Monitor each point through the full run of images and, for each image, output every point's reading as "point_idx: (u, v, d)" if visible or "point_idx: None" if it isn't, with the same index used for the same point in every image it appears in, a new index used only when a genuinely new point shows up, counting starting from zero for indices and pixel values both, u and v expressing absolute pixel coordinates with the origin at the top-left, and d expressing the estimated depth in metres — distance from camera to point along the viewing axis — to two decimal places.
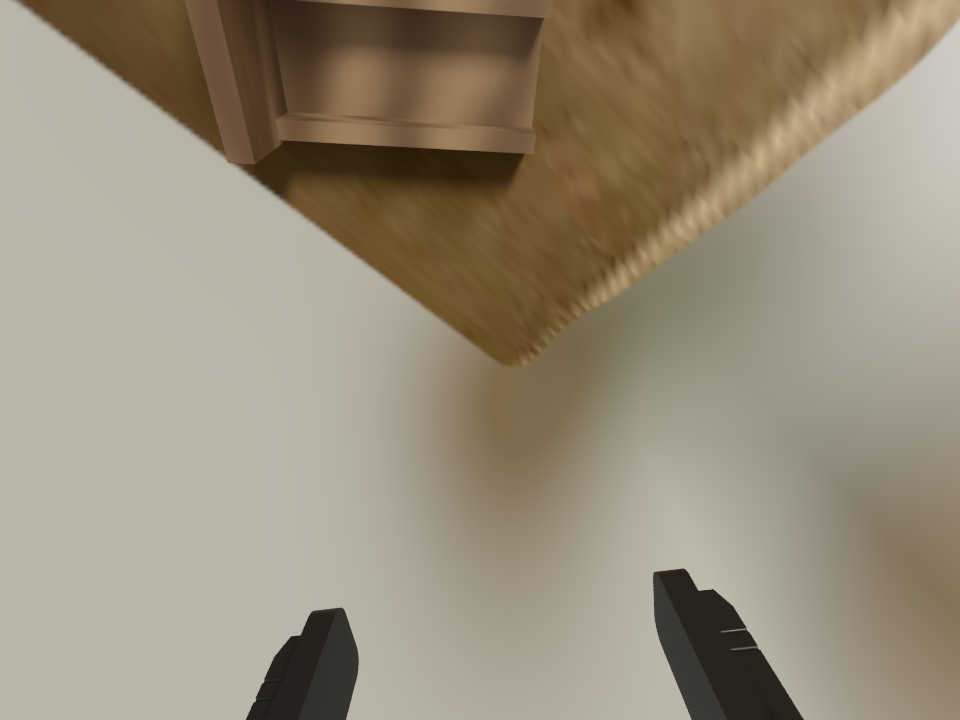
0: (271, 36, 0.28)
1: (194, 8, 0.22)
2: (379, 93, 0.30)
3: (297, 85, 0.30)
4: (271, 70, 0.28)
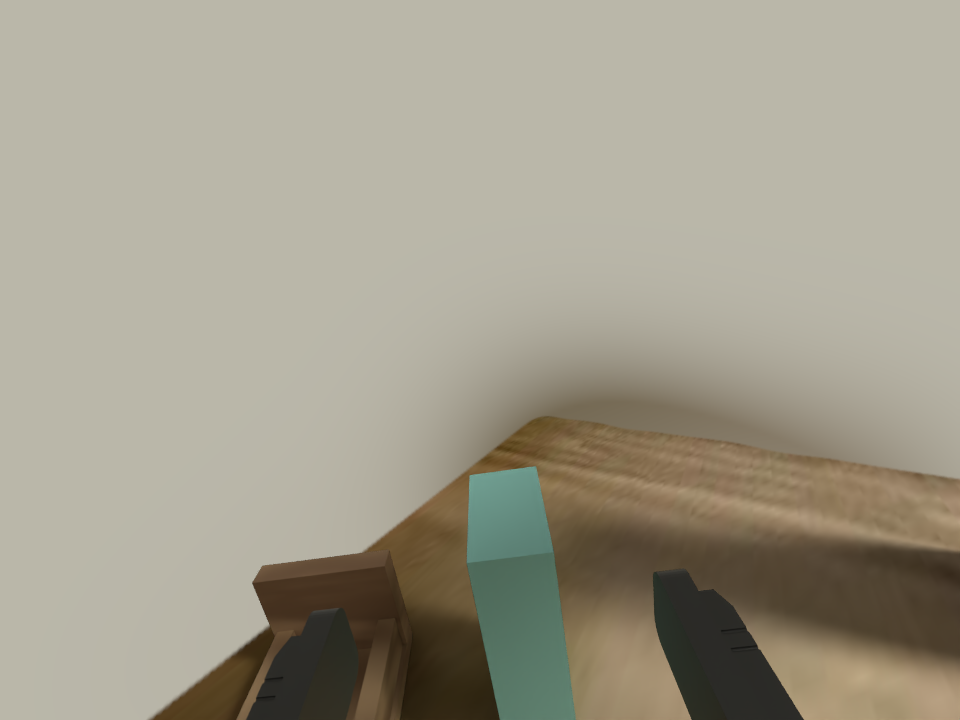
0: (359, 644, 0.32)
1: (358, 557, 0.31)
2: None
3: None
4: None
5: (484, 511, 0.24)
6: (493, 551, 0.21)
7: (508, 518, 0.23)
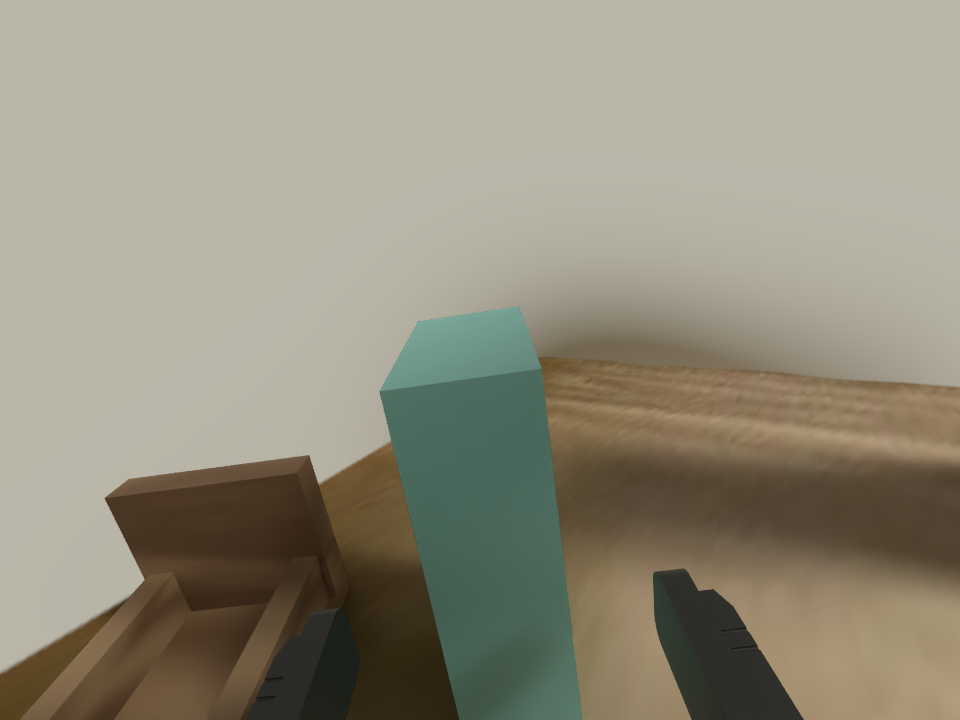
0: (268, 595, 0.22)
1: (264, 465, 0.21)
2: None
3: (210, 624, 0.22)
4: (228, 581, 0.22)
5: (428, 344, 0.14)
6: (432, 376, 0.12)
7: (466, 346, 0.14)
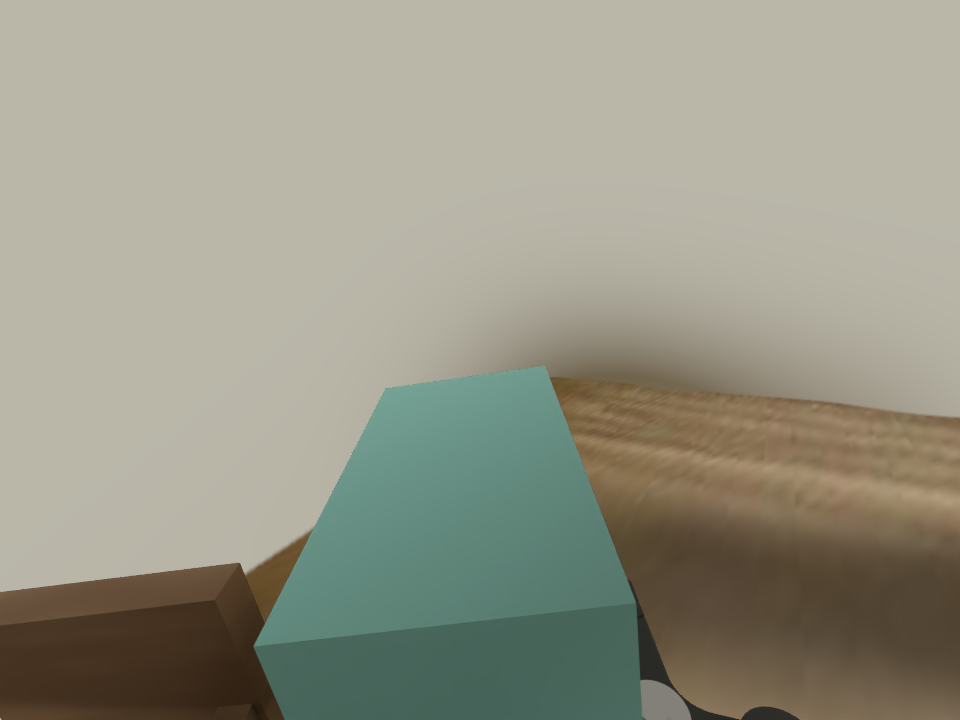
0: None
1: (174, 578, 0.15)
2: None
3: None
4: None
5: (392, 458, 0.08)
6: (381, 594, 0.05)
7: (460, 476, 0.07)
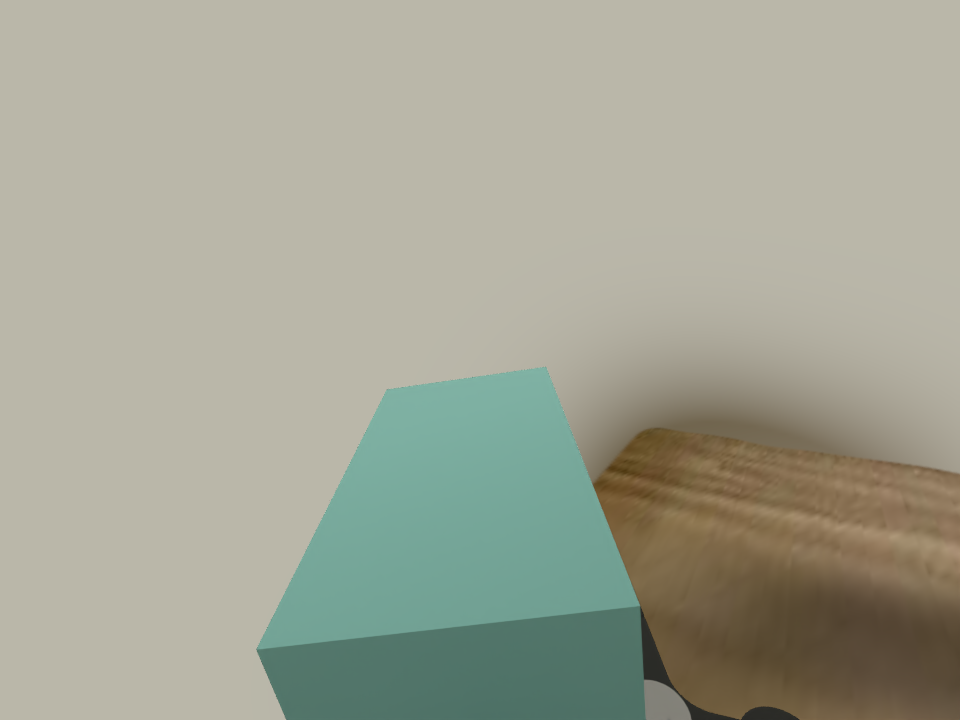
0: None
1: None
2: None
3: None
4: None
5: (394, 460, 0.08)
6: (385, 597, 0.05)
7: (462, 477, 0.07)
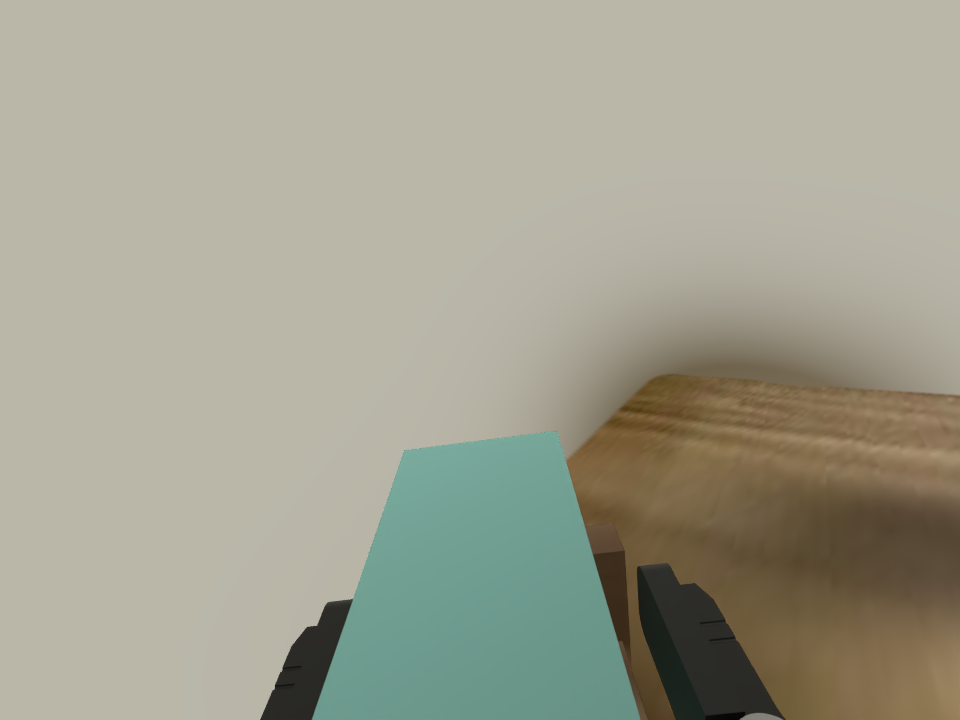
0: None
1: None
2: None
3: None
4: None
5: (414, 541, 0.09)
6: (412, 707, 0.06)
7: (478, 567, 0.08)
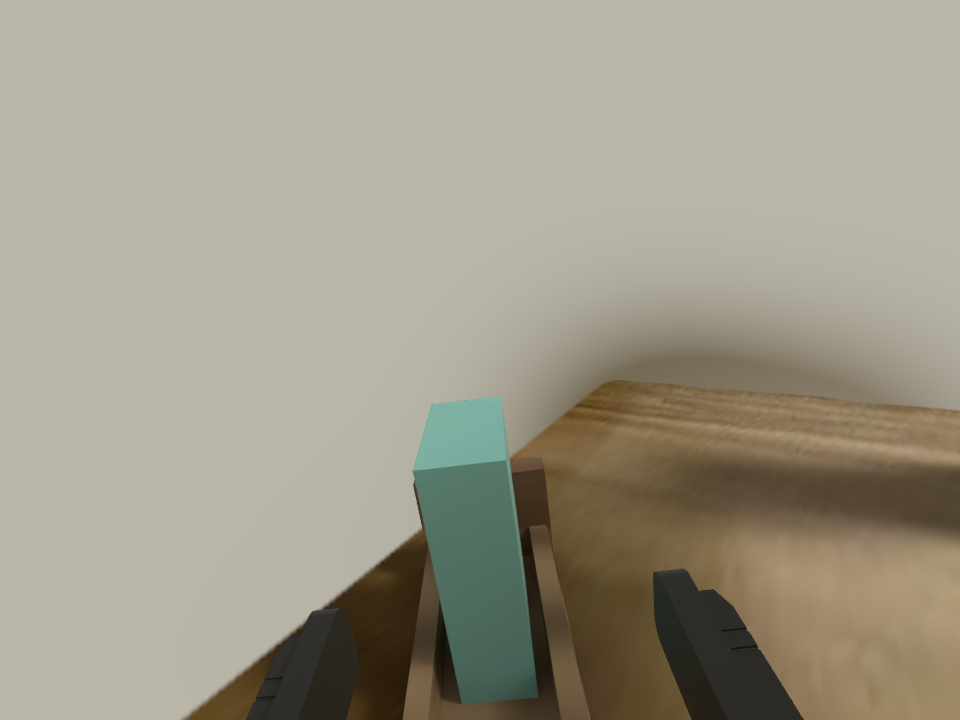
0: None
1: (513, 464, 0.32)
2: None
3: None
4: None
5: (440, 430, 0.23)
6: (443, 461, 0.20)
7: (463, 435, 0.22)
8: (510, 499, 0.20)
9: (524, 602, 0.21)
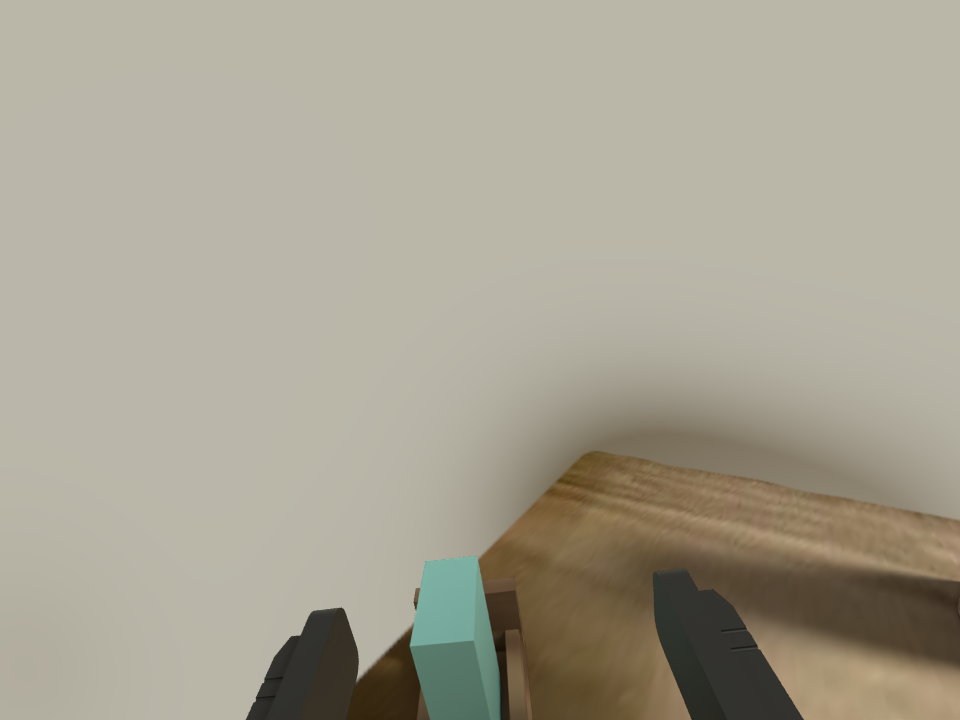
0: None
1: (491, 582, 0.41)
2: None
3: None
4: None
5: (430, 598, 0.31)
6: (431, 637, 0.28)
7: (446, 606, 0.30)
8: (478, 663, 0.28)
9: None
